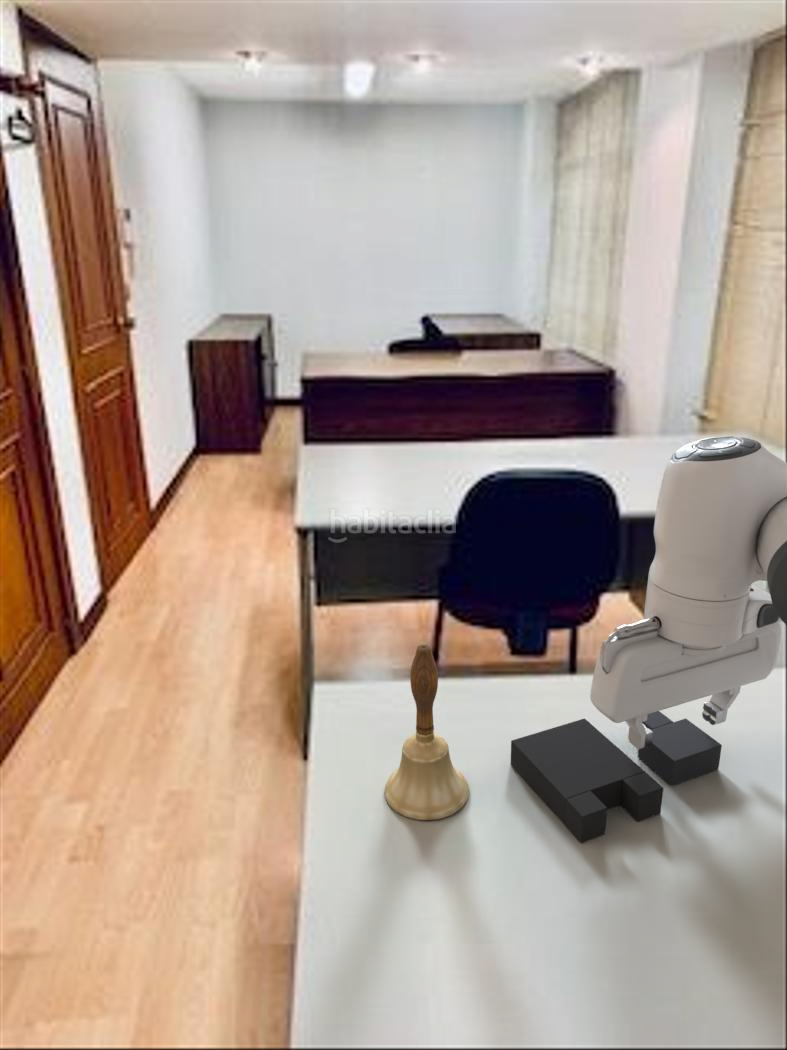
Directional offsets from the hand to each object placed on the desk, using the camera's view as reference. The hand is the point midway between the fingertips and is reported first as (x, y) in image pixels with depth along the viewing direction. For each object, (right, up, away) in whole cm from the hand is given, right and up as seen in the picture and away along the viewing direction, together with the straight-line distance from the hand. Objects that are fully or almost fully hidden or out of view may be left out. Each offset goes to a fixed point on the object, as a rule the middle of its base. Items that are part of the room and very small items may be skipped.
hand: (677, 732), depth 76 cm
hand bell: (-25, -6, -1) cm, 26 cm away
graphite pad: (0, -3, +2) cm, 4 cm away
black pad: (-10, -5, -2) cm, 11 cm away
